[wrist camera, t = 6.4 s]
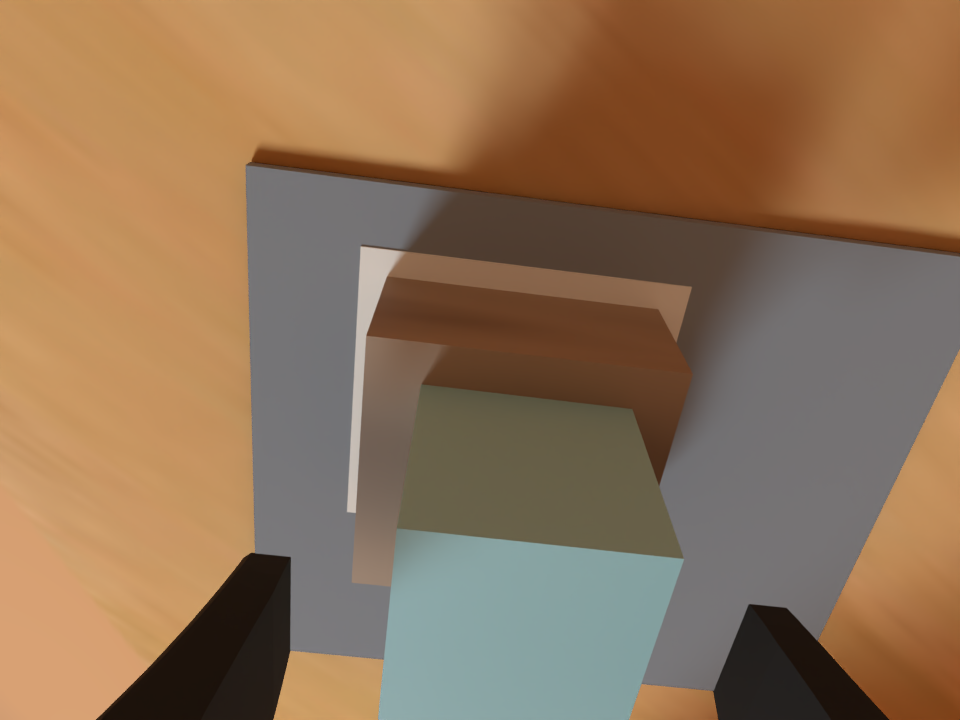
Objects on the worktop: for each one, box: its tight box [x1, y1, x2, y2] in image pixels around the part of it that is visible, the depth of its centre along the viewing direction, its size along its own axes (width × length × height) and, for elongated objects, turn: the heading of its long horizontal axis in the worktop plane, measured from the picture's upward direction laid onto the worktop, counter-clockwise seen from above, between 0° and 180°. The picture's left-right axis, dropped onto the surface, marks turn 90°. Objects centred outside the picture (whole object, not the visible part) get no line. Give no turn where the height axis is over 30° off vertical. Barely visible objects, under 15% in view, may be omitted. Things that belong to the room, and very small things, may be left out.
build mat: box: [246, 162, 960, 691], centre depth 18 cm, size 14×16×1 cm
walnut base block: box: [352, 276, 693, 587], centre depth 16 cm, size 6×6×3 cm
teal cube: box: [378, 384, 684, 720], centre depth 13 cm, size 4×4×4 cm
